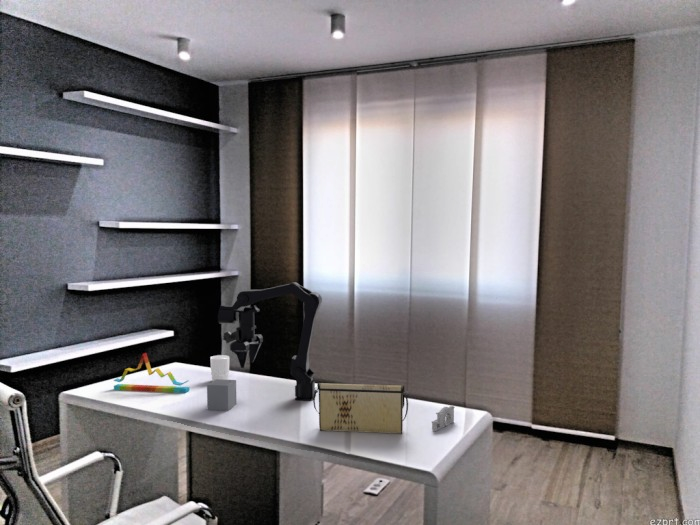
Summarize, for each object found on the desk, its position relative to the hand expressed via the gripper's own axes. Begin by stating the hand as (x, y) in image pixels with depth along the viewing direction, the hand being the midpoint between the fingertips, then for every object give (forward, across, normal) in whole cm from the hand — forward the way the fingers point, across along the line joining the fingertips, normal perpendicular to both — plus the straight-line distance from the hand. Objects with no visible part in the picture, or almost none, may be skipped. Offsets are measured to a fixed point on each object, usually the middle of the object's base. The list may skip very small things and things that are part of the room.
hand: (247, 365), depth 214 cm
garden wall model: (+12, +20, +73) cm, 77 cm away
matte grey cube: (+12, +14, -4) cm, 19 cm away
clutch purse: (+12, +28, +48) cm, 57 cm away
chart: (+13, -2, -41) cm, 43 cm away
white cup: (+12, -20, -20) cm, 31 cm away
